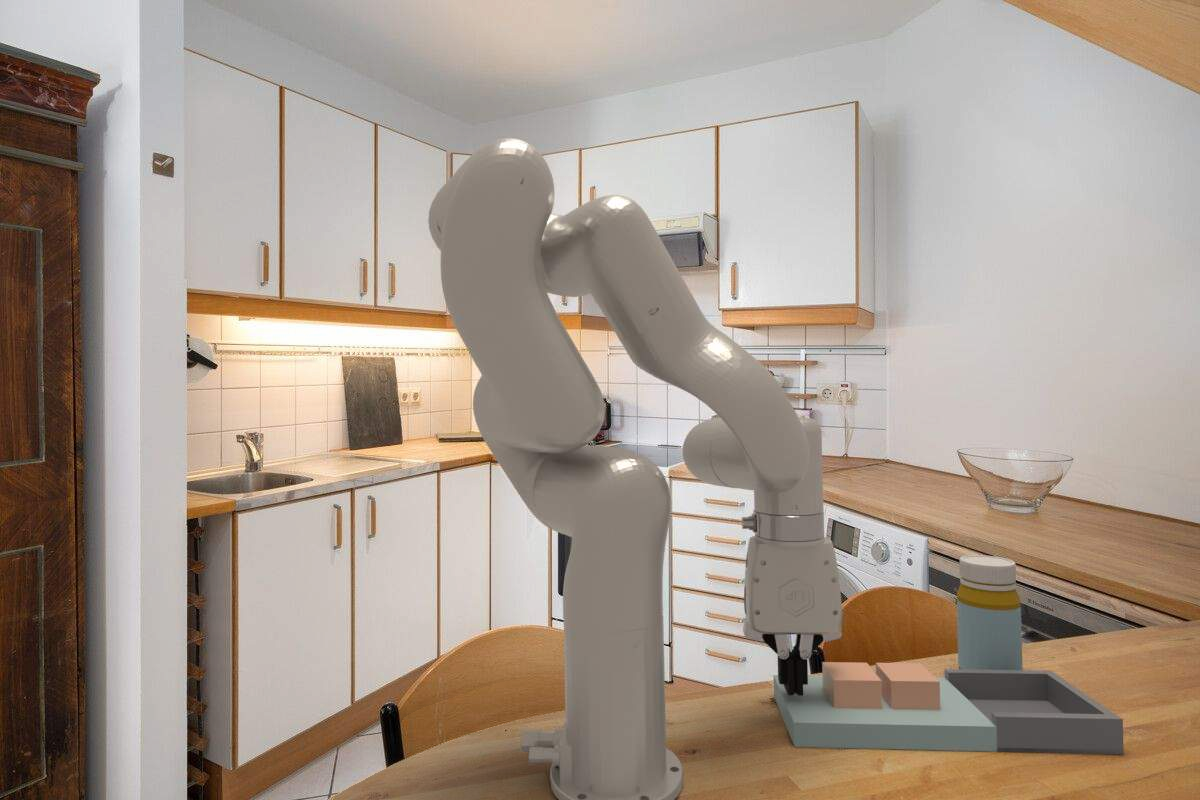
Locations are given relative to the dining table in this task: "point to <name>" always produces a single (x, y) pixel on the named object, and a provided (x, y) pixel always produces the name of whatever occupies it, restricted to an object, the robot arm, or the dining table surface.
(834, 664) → the tile
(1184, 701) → the dining table surface
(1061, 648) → the dining table surface
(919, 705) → the tile
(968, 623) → the bottle
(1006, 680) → the tray
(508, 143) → the robot arm
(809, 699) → the pale green lid panel
